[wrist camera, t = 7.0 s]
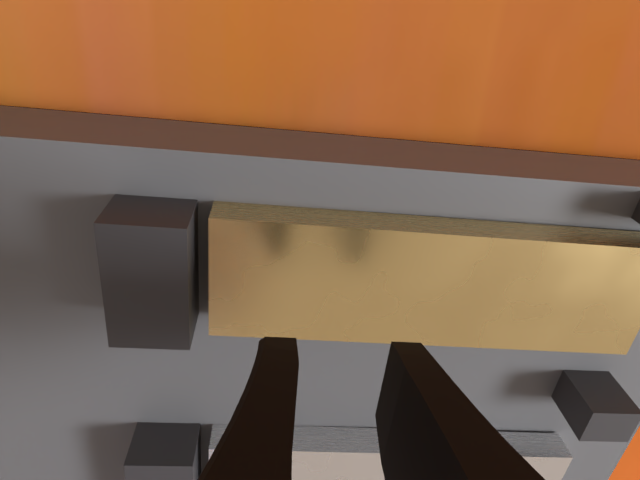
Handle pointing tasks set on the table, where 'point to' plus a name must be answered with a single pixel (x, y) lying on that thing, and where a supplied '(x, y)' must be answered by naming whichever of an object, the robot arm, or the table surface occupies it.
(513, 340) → the bar
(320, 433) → the bar
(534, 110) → the table surface
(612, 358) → the mounting plate
